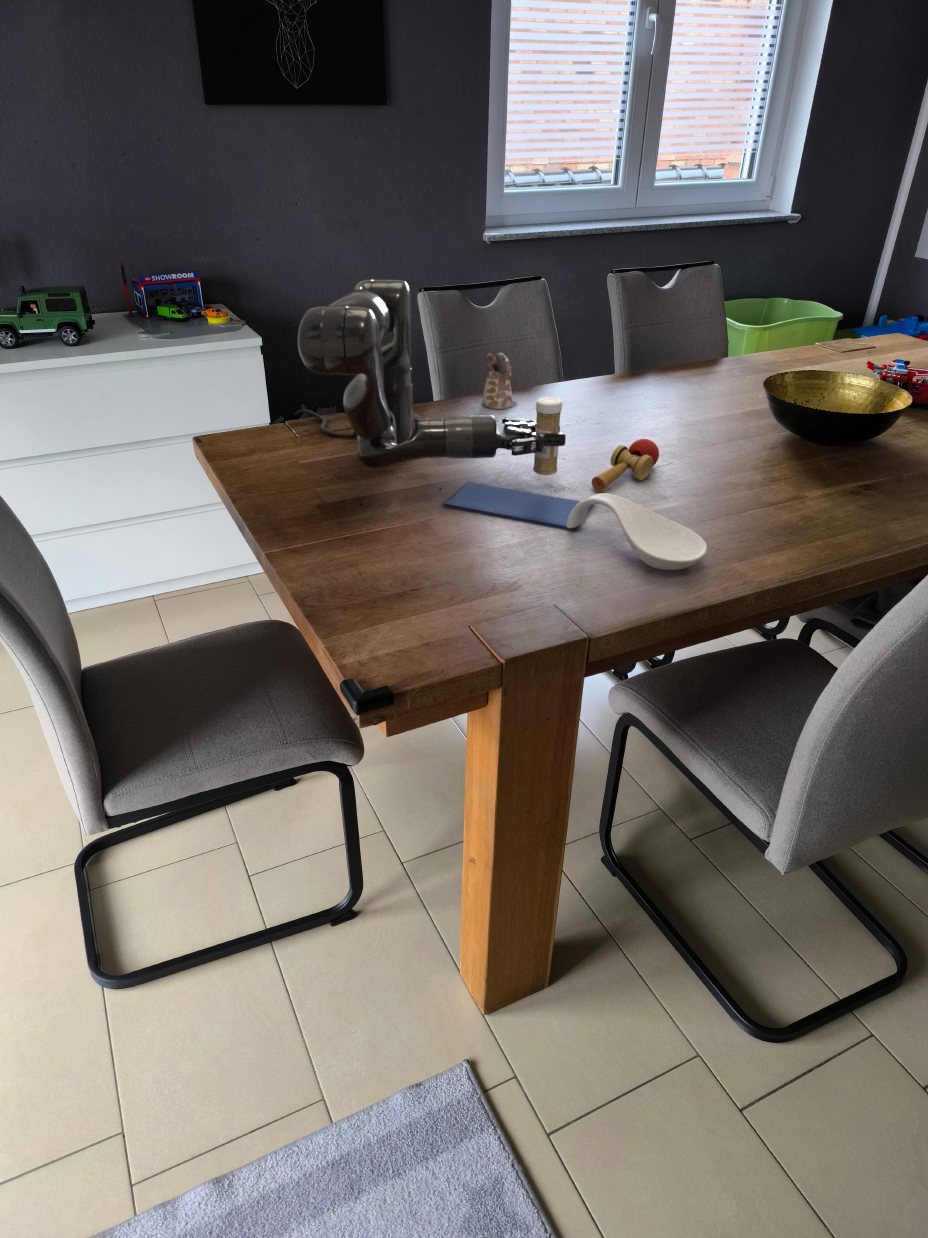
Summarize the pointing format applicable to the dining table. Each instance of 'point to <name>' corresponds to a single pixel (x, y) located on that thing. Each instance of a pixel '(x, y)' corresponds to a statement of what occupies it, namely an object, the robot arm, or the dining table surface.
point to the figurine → (498, 383)
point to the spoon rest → (647, 533)
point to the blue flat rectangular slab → (514, 505)
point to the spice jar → (547, 423)
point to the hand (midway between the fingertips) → (561, 434)
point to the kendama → (629, 463)
